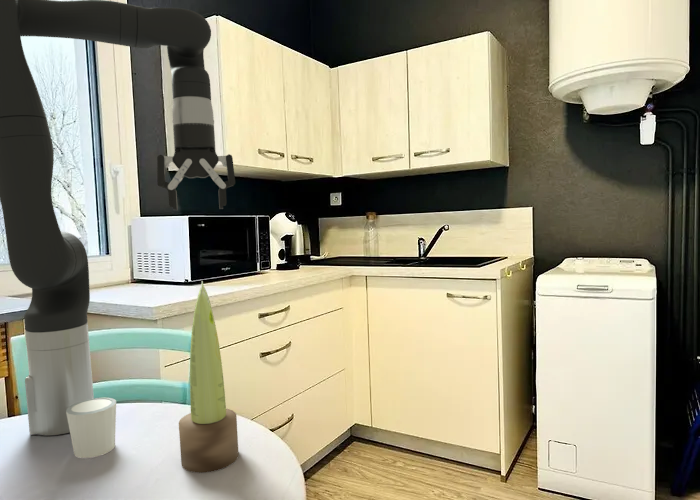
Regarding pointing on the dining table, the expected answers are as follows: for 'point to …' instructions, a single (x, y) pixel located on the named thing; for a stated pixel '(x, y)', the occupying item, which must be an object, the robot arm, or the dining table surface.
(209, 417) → the tube
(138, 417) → the dining table surface
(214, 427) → the walnut block
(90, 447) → the white cup
